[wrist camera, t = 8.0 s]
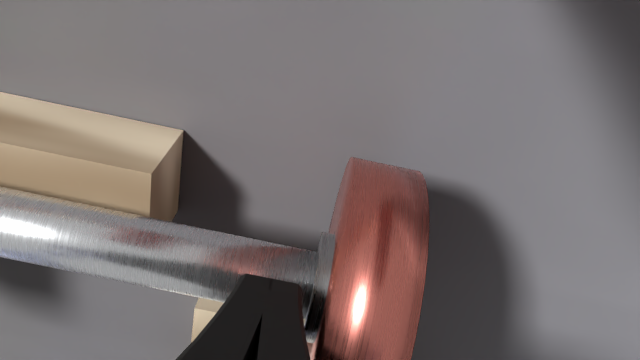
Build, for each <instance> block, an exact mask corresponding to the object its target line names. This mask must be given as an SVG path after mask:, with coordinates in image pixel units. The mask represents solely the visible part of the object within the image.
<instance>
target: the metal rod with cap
mask: <svg viewBox="0 0 640 360" xmlns="http://www.w3.org/2000/svg"><path fill="white" fill-rule="evenodd" d="M428 243H429V200H428V192H427V186H426V182H425V179H424V177H423V175H422V174H421V172H420V171H415V170H411V169H406V168H401V167H396V166H391V165H387V164H382V163H377V162H372V161H368V160H363V159H358V158H353V157H351V158H350V159H349V161H348V164H347V166H346V169H345V172H344V175H343V178H342V182H341V185H340V189H339V192H338V196H337V200H336V203H335V207H334V211H333V215H332V220H331V224H330V228H329V232H328V233H325V232H322V234H321V237H320V241H319V245H318V249H317V252H315V251H310V250H305V249H300V248H295V247H290V246H286V245H281V244H276V243H271V242H266V241H261V240H257V239H252V238H247V237H242V236H237V235H232V234H227V233H223V232H218V231H213V230H208V229H203V228H198V227H194V226H189V225H184V224H179V223H174V222H169V221H164V220H160V219H155V218H150V217H145V216H140V215H135V214H131V213H126V212H121V211H116V210H111V209H106V208H101V207H97V206H92V205H87V204H82V203H77V202H72V201H68V200H63V199H58V198H53V197H48V196H43V195H38V194H34V193H29V192H24V191H19V190H14V189H9V188H5V187H0V257H2V258H7V259H12V260H17V261H22V262H27V263H32V264H37V265H42V266H47V267H51V268H56V269H61V270H66V271H71V272H76V273H81V274H86V275H91V276H96V277H101V278H105V279H110V280H115V281H120V282H125V283H130V284H135V285H140V286H145V287H150V288H155V289H159V290H164V291H169V292H174V293H179V294H184V295H189V296H194V297H199V298H204V299H209V300H213V301H218V302H223V303H224V302H225V301H226V299H227V298H228V296H229V295H230V293H231V292H232V290H233V289H234V287H235V285H236V284H237V282H238V280H239V278H240V276H242V275H244V274H246V273H247V274H252V275H257V276H262V277H267V278H272V279H277V280H282V281H286V282H291V283H296V284H299V285H300V287H301V288H302V311H303V320H304V327H305V334H306V340H307V345H308V350H309V354H310V359H311V360H411V357H412V353H413V348H414V344H415V339H416V334H417V329H418V323H419V318H420V312H421V306H422V299H423V293H424V285H425V277H426V268H427V257H428Z"/></svg>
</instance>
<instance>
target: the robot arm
mask: <svg viewBox="0 0 640 360" xmlns="http://www.w3.org/2000/svg"><path fill="white" fill-rule="evenodd" d="M176 360H311V359H310V354H309V350H308V345H307V340H306V334H305V327H304V320H303V311H302V288H301V287H300V285H299V284H296V283H291V282H286V281H282V280H277V279H272V278H267V277H262V276H257V275H252V274H247V273H246V274H244V275H242V276H240V278H239V280H238V282H237V284H236V285H235V287H234V289H233V290H232V292H231V293H230V295H229V296H228V298H227V299H226V301H225V302H224V303H223V305H222V306H221V307H220V309H219V310H218V311H217V313H216V314H215V315H214V317H213V318H212V319H211V320H210V321H209V323H208V324H207V325H206V326H205V327H204V329H203V330H202V331H201V332H200V333H199V335H198V336H197V337H196V338H195V339H194V341H193V342H192V343H191V344H190V345H189V346H188V347H187V348H186V349H185V350H184V351H183V352H182V354H181V355H180V356H179V357H178V358H177V359H176Z"/></svg>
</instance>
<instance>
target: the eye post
mask: <svg viewBox="0 0 640 360" xmlns="http://www.w3.org/2000/svg"><path fill="white" fill-rule="evenodd" d="M182 144H183V130H179V129H174V128H170V127H165V126H160V125H155V124H150V123H146V122H141V121H136V120H131V119H127V118H122V117H117V116H112V115H108V114H103V113H98V112H93V111H89V110H84V109H79V108H74V107H69V106H65V105H60V104H55V103H50V102H46V101H41V100H36V99H31V98H27V97H22V96H17V95H12V94H8V93H3V92H0V187H5V188H9V189H14V190H19V191H24V192H29V193H34V194H38V195H43V196H48V197H53V198H58V199H63V200H68V201H72V202H77V203H82V204H87V205H92V206H97V207H101V208H106V209H111V210H116V211H121V212H126V213H131V214H135V215H140V216H145V217H150V218H155V219H160V220H164V221H169V222H172V220H173V218H174V216H175V215H176V213H177V211H178V200H179V186H180V172H181V158H182Z"/></svg>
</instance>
